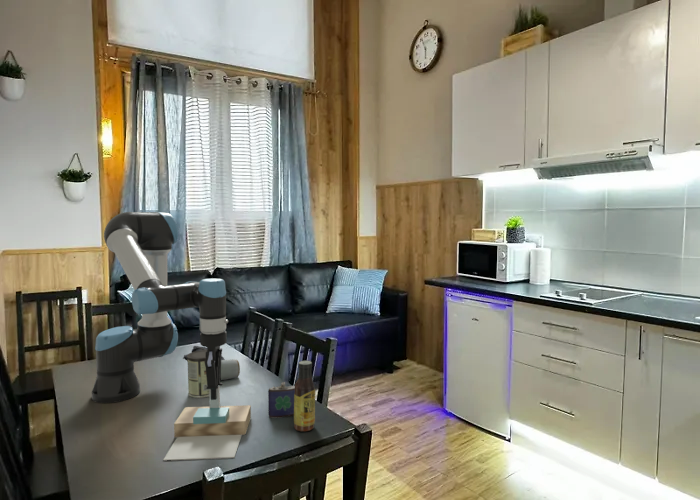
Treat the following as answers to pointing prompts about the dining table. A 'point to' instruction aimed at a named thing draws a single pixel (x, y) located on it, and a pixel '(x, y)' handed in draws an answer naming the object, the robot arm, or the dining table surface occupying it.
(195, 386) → the coffee can
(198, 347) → the dark slate chunk
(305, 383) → the sauce bottle
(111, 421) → the dining table surface
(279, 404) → the flask
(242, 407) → the tan flat rectangular slab
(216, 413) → the teal rectangular block
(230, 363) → the ceramic mug
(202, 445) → the mat
